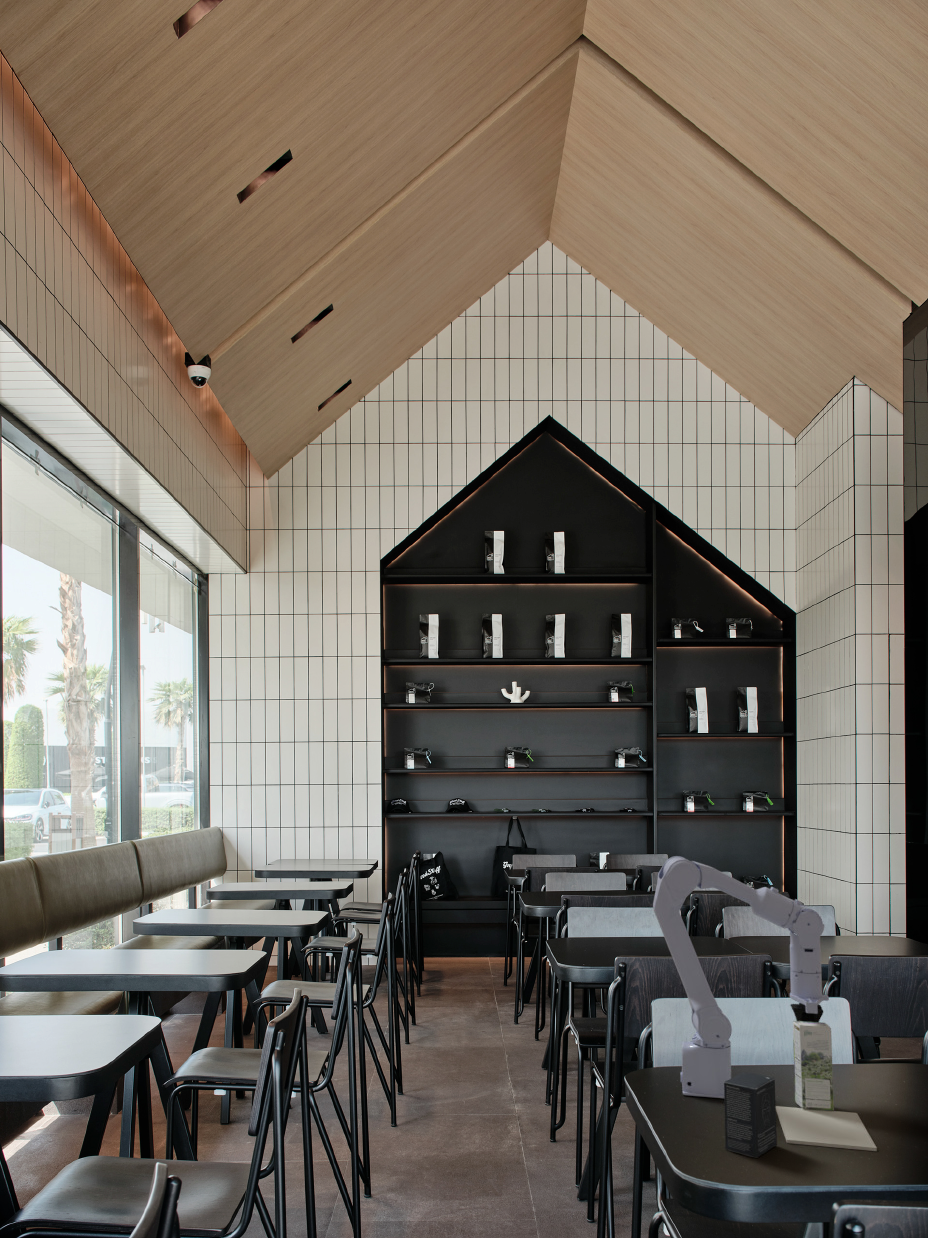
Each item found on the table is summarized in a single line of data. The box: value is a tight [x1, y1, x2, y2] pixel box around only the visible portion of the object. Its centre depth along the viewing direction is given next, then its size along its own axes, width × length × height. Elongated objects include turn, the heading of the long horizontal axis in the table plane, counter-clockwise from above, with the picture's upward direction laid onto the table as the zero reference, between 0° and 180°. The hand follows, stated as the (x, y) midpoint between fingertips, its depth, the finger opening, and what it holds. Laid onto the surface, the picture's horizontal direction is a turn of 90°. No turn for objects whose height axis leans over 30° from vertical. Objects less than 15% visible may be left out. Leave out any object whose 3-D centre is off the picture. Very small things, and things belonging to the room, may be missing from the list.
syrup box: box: [792, 1020, 835, 1111], centre depth 186 cm, size 6×6×14 cm
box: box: [723, 1071, 778, 1159], centre depth 165 cm, size 8×6×11 cm
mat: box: [776, 1105, 878, 1152], centre depth 174 cm, size 14×18×1 cm
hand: (807, 1045), depth 193 cm, fingers closed
